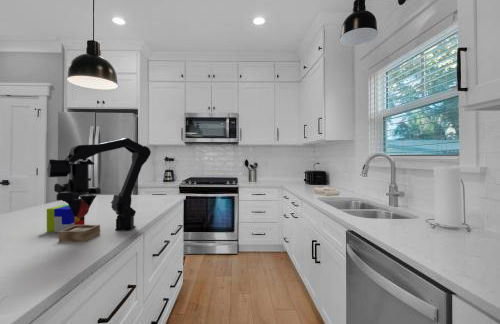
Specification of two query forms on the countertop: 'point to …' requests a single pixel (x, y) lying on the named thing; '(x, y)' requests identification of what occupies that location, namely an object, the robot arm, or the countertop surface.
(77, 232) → the wooden tray
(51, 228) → the puzzle toy
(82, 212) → the onion
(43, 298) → the countertop surface
